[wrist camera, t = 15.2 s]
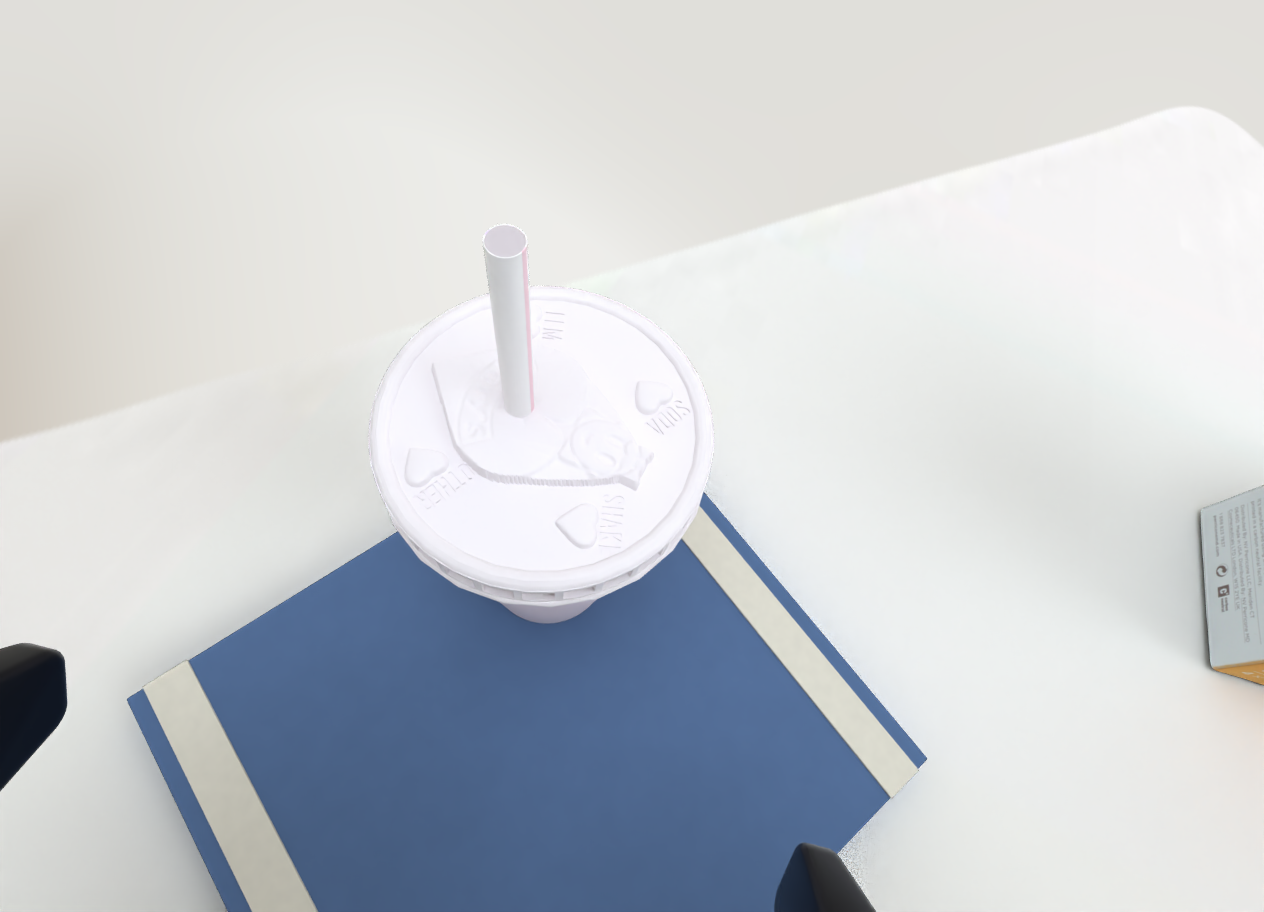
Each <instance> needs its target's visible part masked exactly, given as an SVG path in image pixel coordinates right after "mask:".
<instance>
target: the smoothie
mask: <svg viewBox="0 0 1264 912" xmlns="http://www.w3.org/2000/svg"><path fill="white" fill-rule="evenodd" d="M483 248H484V256H485V263H486V271H487V278H488V286H489V293H487V294H484V295H481V296H478V297H475V298H472V299H470V300H467V301H465V302H463V303H461V304H458V305H456V306H455V307H453V308H451V309H449V310H447V311H445V312H444V313H442V314H441V315H439V316H438V317H436V318H434V319H433V320H432V321H430V322H429V323H428V324H427V325H425V326H424V327H423V328H421V329H420V330H419V331H418V332H417V333H416V334H415V335H414V336H413V337H412V338H411V339H410V340H409V341H408V342H407V343H406V344H405V345H404V347H403V348H402V349H401V350H400V351H399V353H398V354H397V355H396V357H395V358H394V360H393V361H392V362H391V364H390V366H389V368H388V369H387V371H386V373H385V375H384V376H383V379H382V381H381V383H380V385H379V388H378V390H377V393H376V396H375V399H374V402H373V406H372V411H371V416H370V423H369V435H368V437H369V455H370V461H371V468H372V471H373V475H374V479H375V482H376V485H377V487H378V490H379V492H380V495H381V497H382V499H383V501H384V503H385V505H386V507H387V510H388V513H389V515H390V518H391V521H392V523H393V526H394V527H395V528H396V529H397V531H398V532H399V533H400V535H401V536H402V537H403V538H404V540H405V541H406V542H407V544H408V545H409V546H410V547H411V549H412V550H413V551H414V553H415V554H416V555H417V556H418V558H419V559H420V560H421V561H422V562H424V563H425V564H426V565H428V566H429V567H431V568H432V569H433V570H435V571H436V572H438V573H439V574H440V575H442V576H443V577H445V578H446V579H447V580H449V581H450V582H452V583H453V584H454V585H456V586H457V587H459V588H462V589H465V590H467V591H470V592H473V593H476V594H478V595H481V596H484V597H487V598H489V599H492V600H495V601H498V602H500V603H501V604H502V605H503V606H505V607H506V608H507V609H508V610H510V611H511V612H512V613H514V614H515V615H517V616H519V617H521V618H523V619H525V620H528V621H532V622H536V623H557V622H562V621H566V620H568V619H571V618H573V617H575V616H577V615H579V614H580V613H582V612H583V611H585V610H586V609H587V608H588V607H589V606H590V605H591V604H592V603H593V602H594V601H596V600H597V599H599V598H601V597H603V596H605V595H607V594H609V593H611V592H613V591H615V590H618V589H620V588H622V587H624V586H626V585H628V584H630V583H632V582H635V581H637V580H639V579H640V578H641V577H643V576H644V575H645V574H646V573H647V572H648V571H650V570H651V569H652V568H653V567H654V566H655V565H657V564H658V563H659V562H660V561H661V560H662V559H664V558H665V557H666V556H667V555H668V554H669V553H671V552H672V551H673V550H674V548H675V547H676V545H677V544H678V542H679V541H680V539H681V538H682V536H683V535H684V533H685V532H686V530H687V529H688V527H689V526H690V524H691V523H692V521H693V520H694V518H695V517H696V514H697V511H698V508H699V504H700V501H701V498H702V495H703V491H704V489H705V487H706V484H707V481H708V477H709V474H710V470H711V465H712V459H713V451H714V425H713V419H712V412H711V408H710V404H709V400H708V397H707V394H706V392H705V389H704V386H703V384H702V382H701V380H700V378H699V376H698V374H697V371H696V370H695V368H694V367H693V365H692V363H691V362H690V360H689V359H688V357H687V356H686V355H685V353H684V352H683V351H682V349H681V348H680V347H679V346H678V345H677V344H676V343H675V341H674V340H673V339H672V338H671V337H670V336H669V335H668V334H667V333H665V332H664V331H663V330H662V329H661V328H660V327H659V326H657V325H656V324H655V323H653V322H652V321H651V320H649V319H648V318H647V317H645V316H644V315H642V314H640V313H639V312H637V311H636V310H634V309H632V308H630V307H628V306H626V305H624V304H622V303H620V302H617V301H615V300H613V299H610V298H608V297H605V296H602V295H599V294H596V293H592V292H588V291H584V290H580V289H574V288H567V287H558V286H530V285H529V264H528V241H527V237H526V234H525V233H524V232H523V231H522V230H521V229H520V228H518V227H516V226H513V225H510V224H499V225H496V226H493V227H491V228H490V229H488V231H486V233H485V234H484V236H483Z"/></svg>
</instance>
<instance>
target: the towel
mask: <svg viewBox="0 0 1264 912" xmlns="http://www.w3.org/2000/svg"><path fill="white" fill-rule="evenodd" d="M127 701H128V704H129V706H130V708H131V710H132V712H133V714H134V716H135V718H136V720H137V722H138V724H139V727H140V729H141V731H142V733H143V735H144V737H145V739H146V741H147V743H148V745H149V747H150V750H151V752H152V754H153V756H154V758H155V760H156V762H157V764H158V766H159V768H160V770H161V773H162V775H163V777H164V779H165V781H166V783H167V785H168V787H169V789H170V791H171V794H172V796H173V798H174V800H175V802H176V804H177V806H178V808H179V810H180V812H181V814H182V817H183V819H184V821H185V823H186V825H187V827H188V829H189V831H190V833H191V835H192V837H193V840H194V842H195V844H196V846H197V848H198V850H199V852H200V854H201V856H202V858H203V860H204V863H205V865H206V867H207V869H208V871H209V873H210V875H211V877H212V879H213V881H214V883H215V886H216V888H217V890H218V892H219V894H220V896H221V898H222V900H223V902H224V904H225V907H226V909H227V911H228V912H774V904H775V897H776V892H777V889H778V886H779V884H780V881H781V879H782V877H783V875H784V872H785V870H786V868H787V866H788V863H789V861H790V859H791V857H792V854H793V852H794V850H795V848H796V847H797V845H799V844H800V843H803V842H806V843H810V844H814V845H818V846H821V847H825V848H829V849H831V850H833V851H834V852H835V853H836V854H837V853H838V852H839V851H840V850H841V849H842V848H843V847H844V846H845V845H846V844H847V843H848V842H849V841H850V840H851V839H852V838H853V836H854V835H855V834H856V833H857V832H858V831H859V830H860V829H861V828H862V827H863V826H864V825H865V824H866V823H867V822H868V821H869V820H870V819H871V818H872V817H873V816H874V814H875V813H876V812H877V811H878V810H879V809H880V808H881V807H882V806H883V805H884V804H885V803H886V802H887V801H888V800H889V799H890V798H893V797H894V796H895V795H896V794H897V793H898V792H899V791H900V790H901V789H902V788H903V787H904V786H905V785H906V784H907V782H908V781H909V780H910V779H911V778H912V777H913V776H914V775H915V774H916V773H917V772H918V771H919V770H918V768H919V767H920V766H921V765H922V764H923V763H924V762H925V761H926V760H927V758H926V756H925V755H924V754H923V753H922V752H921V750H920V749H919V748H918V747H917V746H916V744H915V743H914V742H913V741H912V740H911V738H910V737H909V736H908V735H907V734H906V732H905V731H904V730H903V729H902V728H901V727H900V725H899V724H898V723H897V722H896V721H895V719H894V718H893V717H892V716H891V715H890V713H889V712H888V711H887V710H886V709H885V707H884V706H883V705H882V704H881V703H880V701H879V700H878V699H877V698H876V697H875V696H874V694H873V693H872V692H871V691H870V690H869V688H868V687H867V686H866V685H865V684H864V682H863V681H862V680H861V679H860V678H859V676H858V675H857V674H856V673H855V672H854V670H853V669H852V668H851V667H850V666H849V665H848V663H847V662H846V661H845V660H844V659H843V657H842V656H841V655H840V654H839V653H838V651H837V650H836V649H835V648H834V647H833V645H832V644H831V643H830V642H829V641H828V639H827V638H826V637H825V636H824V635H823V634H822V632H821V631H820V630H819V629H818V628H817V626H816V625H815V624H814V623H813V622H812V620H811V619H810V618H809V617H808V616H807V614H806V613H805V612H804V611H803V610H802V608H801V607H800V606H799V605H798V604H797V603H796V601H795V600H794V599H793V598H792V597H791V595H790V594H789V593H788V592H787V591H786V589H785V588H784V587H783V586H782V585H781V583H780V582H779V581H778V580H777V579H776V577H775V576H774V575H773V574H772V573H771V572H770V570H769V569H768V568H767V567H766V566H765V564H764V563H763V562H762V561H761V560H760V558H759V557H758V556H757V555H756V554H755V552H754V551H753V550H752V549H751V548H750V546H749V545H748V544H747V543H746V542H745V540H744V539H743V538H742V537H741V536H740V535H739V533H738V532H737V531H736V530H735V529H734V527H733V526H732V525H731V524H730V523H729V521H728V520H727V519H726V518H725V517H724V515H723V514H722V513H721V512H720V511H719V509H718V508H717V507H716V506H715V505H714V504H713V502H712V501H711V500H710V499H709V498H708V496H707V495H706V494H705V493H704V492H703V495H702V498H701V501H700V504H699V508H698V511H697V514H696V517H695V518H694V520H693V521H692V523H691V524H690V526H689V527H688V529H687V530H686V532H685V533H684V535H683V536H682V538H681V539H680V541H679V542H678V544H677V545H676V547H675V548H674V550H673V551H672V552H671V553H669V554H668V555H667V556H666V557H665V558H664V559H662V560H661V561H660V562H659V563H658V564H657V565H655V566H654V567H653V568H652V569H651V570H650V571H648V572H647V573H646V574H645V575H644V576H643V577H641V578H640V579H639V580H637V581H635V582H632V583H630V584H628V585H626V586H624V587H622V588H620V589H618V590H615V591H613V592H611V593H609V594H607V595H605V596H603V597H601V598H599V599H597V600H596V601H594V602H593V603H592V604H591V605H590V606H589V607H588V608H587V609H586V610H585V611H583V612H582V613H580V614H579V615H577V616H575V617H573V618H571V619H568V620H566V621H562V622H557V623H536V622H532V621H528V620H525V619H523V618H521V617H519V616H517V615H515V614H514V613H512V612H511V611H510V610H508V609H507V608H506V607H505V606H503V605H502V604H501V603H500V602H498V601H495V600H492V599H489V598H487V597H484V596H481V595H478V594H476V593H473V592H470V591H467V590H465V589H462V588H459V587H457V586H456V585H454V584H453V583H452V582H450V581H449V580H447V579H446V578H445V577H443V576H442V575H440V574H439V573H438V572H436V571H435V570H433V569H432V568H431V567H429V566H428V565H426V564H425V563H424V562H422V561H421V560H420V559H419V558H418V556H417V555H416V554H415V553H414V551H413V550H412V549H411V547H410V546H409V545H408V544H407V542H406V541H405V540H404V538H403V537H402V536H401V535H400V533H399V532H396V533H394V534H393V535H391V536H390V537H388V538H386V539H385V540H383V541H381V542H380V543H378V544H377V545H375V546H373V547H372V548H370V549H369V550H367V551H365V552H364V553H362V554H360V555H359V556H357V557H356V558H354V559H352V560H351V561H349V562H347V563H346V564H344V565H343V566H341V567H339V568H338V569H336V570H335V571H333V572H331V573H330V574H328V575H326V576H325V577H323V578H322V579H320V580H318V581H317V582H315V583H313V584H312V585H310V586H309V587H307V588H305V589H304V590H302V591H301V592H299V593H297V594H296V595H294V596H292V597H291V598H289V599H288V600H286V601H284V602H283V603H281V604H279V605H278V606H276V607H275V608H273V609H271V610H270V611H268V612H267V613H265V614H263V615H262V616H260V617H258V618H257V619H255V620H254V621H252V622H250V623H249V624H247V625H246V626H244V627H242V628H241V629H239V630H237V631H236V632H234V633H233V634H231V635H229V636H228V637H226V638H224V639H223V640H221V641H220V642H218V643H216V644H215V645H213V646H212V647H210V648H208V649H207V650H205V651H203V652H202V653H200V654H199V655H197V656H195V657H194V658H192V659H190V660H189V661H188V660H185V661H183V662H182V663H180V664H179V665H177V666H175V667H174V668H172V669H170V670H169V671H167V672H166V673H164V674H162V675H161V676H159V677H157V678H156V679H154V680H153V681H151V682H149V683H148V684H146V685H145V686H143V689H142V690H140V691H139V692H137V693H135V694H134V695H132V696H131V697H129V698H128V699H127Z"/></svg>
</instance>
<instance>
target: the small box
mask: <svg viewBox="0 0 1264 912" xmlns="http://www.w3.org/2000/svg"><path fill="white" fill-rule="evenodd" d="M1201 535H1202V552H1203V566H1204V580H1205V598H1206V614H1207V625H1208V638H1209V650H1210V663H1211V667H1212V668H1213V669H1214V670H1216V671H1219V672H1222V673H1226V674H1229V675H1233V676H1236V677H1240V678H1243V679H1246V680H1250V681H1253V682H1256V683H1259V684H1262V685H1264V485H1262V486H1260V487H1257V488H1255V489H1252V490H1250V491H1247V492H1244V493H1242V494H1239V495H1237V496H1234V497H1231V498H1229V499H1226V500H1224V501H1221V502H1218V503H1215V504H1213V505H1210V506H1208V507H1205V508H1203V509H1202V510H1201Z"/></svg>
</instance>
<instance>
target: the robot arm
mask: <svg viewBox="0 0 1264 912" xmlns="http://www.w3.org/2000/svg"><path fill="white" fill-rule="evenodd" d="M66 708H67V689H66V672H65V660H64V657H63V655H62V654H61V653H60V652H59V651H57V650H54V649H50V648H46V647H43V646H39V645H35V644H31V643H20V644H16V645H12V646H8V647H5V648H2V649H0V791H1V790H2V789H3V788H4V787H5V785H6V784H7V783H8V782H9V781H10V780H11V779H12V777H13V776H14V775H15V774H16V773H17V772H18V771H19V770H20V768H21V767H22V766H23V765H24V764H25V763H26V762H27V760H28V759H29V758H30V757H31V756H32V755H33V754H34V753H35V751H36V750H37V749H38V748H39V747H40V746H41V745H42V743H43V742H44V741H45V740H46V739H47V738H48V737H49V736H50V734H51V733H52V732H53V731H54V730H55V729H56V727H57V726H58V725H59V723H60V722H61V720H62V718H63V716H64V714H65V712H66ZM774 912H876V911H875V909H874V908H873V906H872V905H871V903H870V902H869V900H868V899H867V897H866V896H865V894H864V893H863V891H862V890H861V888H860V887H859V885H858V884H857V883H856V881H855V880H854V878H853V877H852V875H851V874H850V872H849V871H848V869H847V868H846V866H845V865H844V863H843V862H842V860H841V859H840V857H839V856H838V855H837V854H836V853H835V852H834V851H833V850H831V849H829V848H825V847H821V846H818V845H814V844H810V843H806V842H803V843H800V844H799V845H797V847H796V848H795V850H794V852H793V854H792V857H791V859H790V861H789V863H788V866H787V868H786V870H785V872H784V875H783V877H782V879H781V881H780V884H779V886H778V889H777V892H776V897H775V904H774Z"/></svg>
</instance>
